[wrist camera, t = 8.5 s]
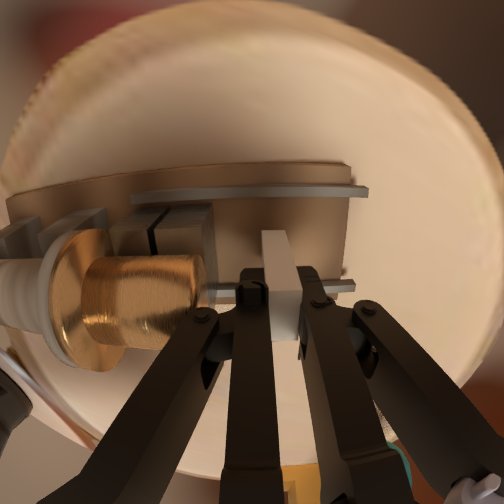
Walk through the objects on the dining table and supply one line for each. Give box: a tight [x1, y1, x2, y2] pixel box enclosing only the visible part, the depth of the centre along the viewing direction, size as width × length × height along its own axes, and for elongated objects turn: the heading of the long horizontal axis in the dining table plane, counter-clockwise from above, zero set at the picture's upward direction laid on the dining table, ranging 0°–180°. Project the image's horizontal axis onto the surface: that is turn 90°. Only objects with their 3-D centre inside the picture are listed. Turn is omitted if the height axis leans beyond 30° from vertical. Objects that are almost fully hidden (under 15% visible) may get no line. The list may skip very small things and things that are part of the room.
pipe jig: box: [0, 163, 369, 369], centre depth 14 cm, size 29×10×12 cm, turn 92°
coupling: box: [48, 203, 219, 372], centre depth 14 cm, size 6×7×10 cm
